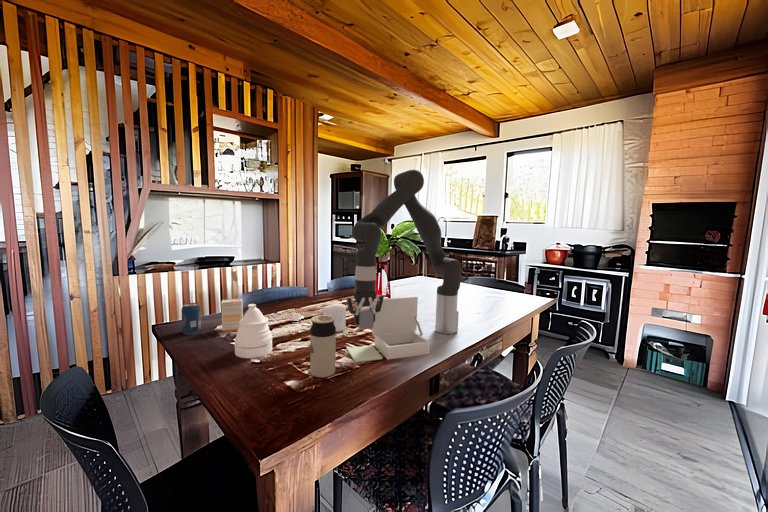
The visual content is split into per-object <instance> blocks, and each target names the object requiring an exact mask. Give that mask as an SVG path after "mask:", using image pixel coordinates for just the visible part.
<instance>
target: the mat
mask: <svg viewBox="0 0 768 512" xmlns="http://www.w3.org/2000/svg"><path fill="white" fill-rule="evenodd" d="M346 350H347V352H348V353H349V354H348V355H350V357H351V359H353V361H354V363H362V362H363V363H364V362H369V361H378V360H383V355H381V354H380V352H379V351H377V348H376V347H375V346H373V345H364V346H363V345H362V346H354V347H347V348H346Z"/></svg>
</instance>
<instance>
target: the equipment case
mask: <svg viewBox="0 0 768 512" xmlns="http://www.w3.org/2000/svg"><path fill="white" fill-rule="evenodd" d="M418 299H419V298H418V296H407V297H391V298H384V299H383V303H382V306H381V310H380V312H377V313H376V314H375V322H374V324H373V328H371V335H372V336H374V347H375V349H376V350H378V352H379V353H381V354H382V356H384V358H385V359H387V360H394V359H402V358H410V357H415V356H424V355H430V354H431V353H430V352H431V341H429V340H427V339H426V337H424V336H423V331H422V327H421V325H420V321H419V318H418ZM373 304H374V308H376V304H377V300H376V299H375V300H374V301H373ZM417 330H418V332H417Z"/></svg>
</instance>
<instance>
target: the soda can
mask: <svg viewBox="0 0 768 512" xmlns="http://www.w3.org/2000/svg"><path fill="white" fill-rule="evenodd" d="M201 329H202V317H201V306H200V305H199V303H198V302H189V303H187V302H186V303H184V304H183V305H182V307H181V331H182V332H183V334H184V335H194V334H198V333H199V332H200V331H201Z"/></svg>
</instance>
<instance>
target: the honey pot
mask: <svg viewBox="0 0 768 512" xmlns="http://www.w3.org/2000/svg"><path fill="white" fill-rule="evenodd" d="M247 308H248V309H247V310H246V312H245V313H244V314H243V319H241V320H240V321H239V324H240V327H239V329H238V330H237V332H236V336H235V338H234V354H235V356H236V357H238V358H240V359H241V358H242V359H253V358H254V359H257V358H260V357H264V356H266V355H268V354H270V353H271V352H272V351H273V334H272V333H271V330H270V326H269V325H268V322H269V319H268V317H266V316H264V315H263V313H262V312H261V310H260V309H259V308H257V304H255V303H250V304H248V305H247Z"/></svg>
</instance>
